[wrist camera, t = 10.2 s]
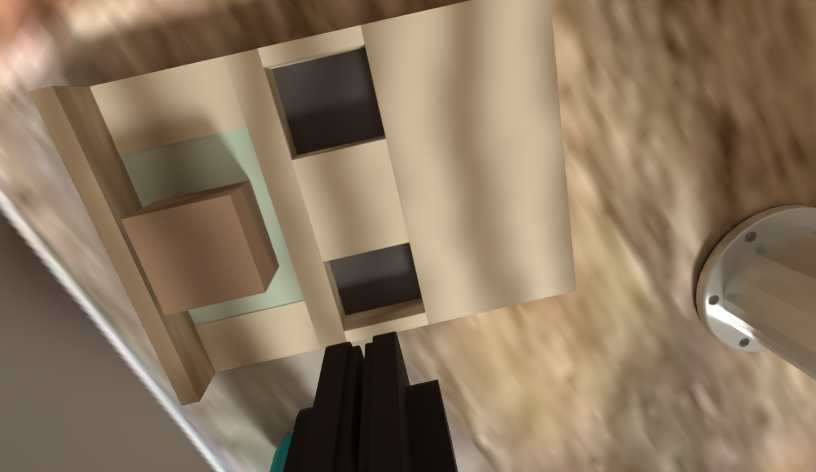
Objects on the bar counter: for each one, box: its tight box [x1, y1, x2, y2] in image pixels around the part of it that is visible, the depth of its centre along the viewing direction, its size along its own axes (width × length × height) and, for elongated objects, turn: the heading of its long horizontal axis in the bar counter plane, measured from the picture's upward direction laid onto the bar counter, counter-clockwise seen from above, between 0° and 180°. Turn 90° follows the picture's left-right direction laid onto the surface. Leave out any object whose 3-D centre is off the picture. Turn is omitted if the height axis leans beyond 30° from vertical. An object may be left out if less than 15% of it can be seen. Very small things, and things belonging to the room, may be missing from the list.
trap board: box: [29, 0, 576, 405], centre depth 28 cm, size 28×20×6 cm
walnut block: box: [121, 180, 279, 315], centre depth 26 cm, size 6×6×4 cm
